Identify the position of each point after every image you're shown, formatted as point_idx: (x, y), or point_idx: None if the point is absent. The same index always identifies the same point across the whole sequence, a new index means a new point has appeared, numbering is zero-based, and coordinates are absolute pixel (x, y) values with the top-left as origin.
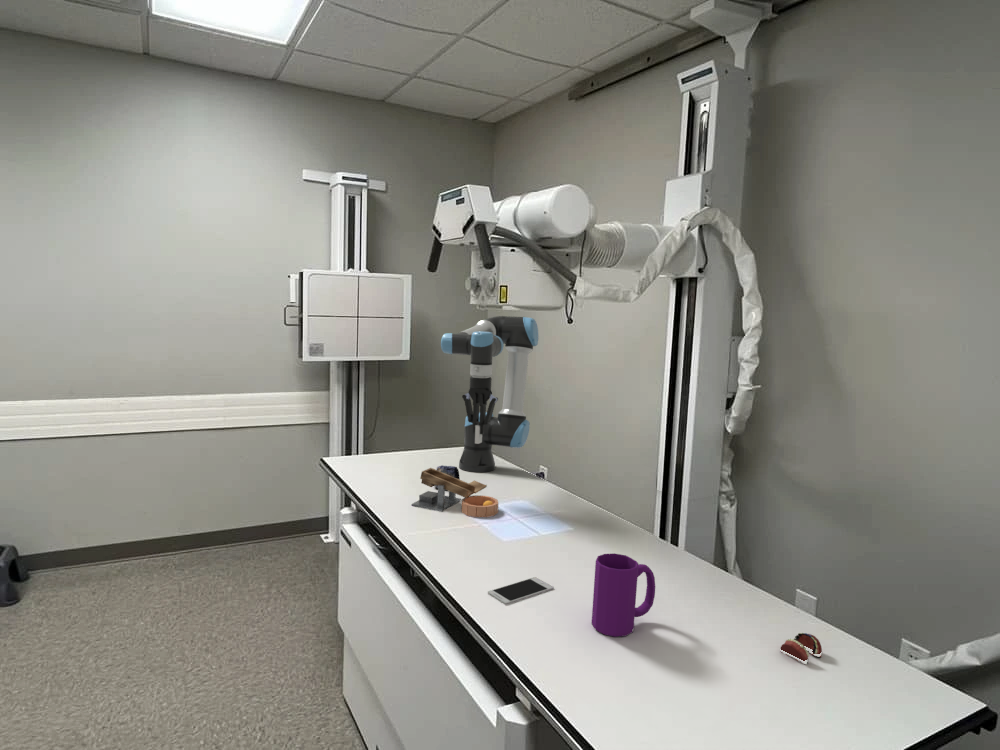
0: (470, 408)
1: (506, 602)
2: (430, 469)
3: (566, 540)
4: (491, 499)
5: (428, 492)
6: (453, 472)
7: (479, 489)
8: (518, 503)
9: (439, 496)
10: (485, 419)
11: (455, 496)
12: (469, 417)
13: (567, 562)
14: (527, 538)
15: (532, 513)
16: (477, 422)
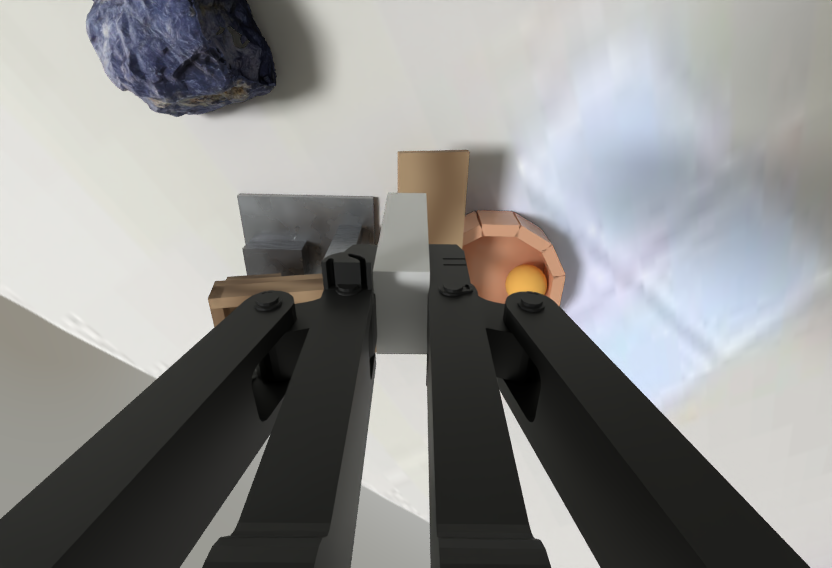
0: (185, 496)
1: None
2: (224, 316)
3: (797, 366)
4: (524, 240)
5: (256, 264)
6: (229, 80)
7: (462, 228)
8: (609, 104)
9: None
10: (519, 413)
11: (360, 231)
12: (265, 411)
13: (785, 468)
14: (682, 396)
15: (683, 199)
16: (374, 325)
